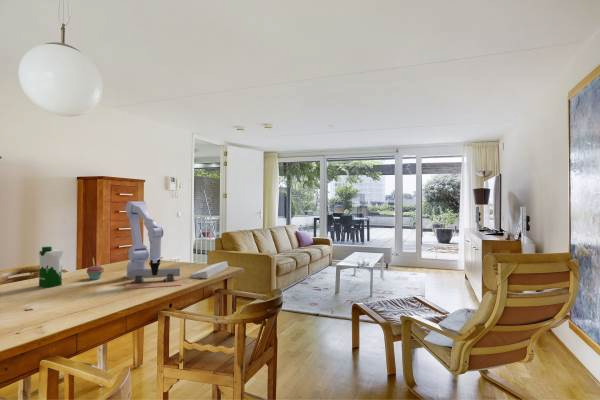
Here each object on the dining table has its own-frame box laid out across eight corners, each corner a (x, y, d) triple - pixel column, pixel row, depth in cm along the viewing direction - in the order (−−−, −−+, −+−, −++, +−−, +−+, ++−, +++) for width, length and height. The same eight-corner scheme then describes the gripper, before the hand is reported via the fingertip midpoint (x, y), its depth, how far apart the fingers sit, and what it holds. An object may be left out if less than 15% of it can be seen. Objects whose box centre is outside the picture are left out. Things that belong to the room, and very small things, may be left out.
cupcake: (82, 279, 194) (83, 257, 194) (96, 276, 202) (97, 255, 202) (93, 280, 191) (93, 259, 191) (107, 277, 199) (107, 256, 199)
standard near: (133, 284, 185) (133, 275, 185) (135, 280, 195) (135, 271, 195) (142, 284, 186) (142, 274, 186) (143, 279, 197) (143, 270, 197)
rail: (128, 279, 187) (128, 271, 187) (128, 277, 190) (129, 270, 190) (179, 276, 196) (179, 269, 196) (179, 274, 200) (179, 267, 200)
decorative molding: (192, 283, 204) (208, 279, 202) (190, 274, 204) (206, 271, 203) (214, 271, 237) (228, 267, 236) (213, 264, 238) (226, 261, 236)
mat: (124, 289, 175) (124, 288, 175) (126, 285, 184) (126, 284, 184) (181, 285, 185) (181, 284, 185) (180, 281, 194) (180, 281, 194)
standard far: (165, 282, 191) (166, 273, 191) (165, 278, 201) (165, 269, 201) (174, 282, 192) (174, 273, 192) (173, 277, 202) (174, 269, 202)
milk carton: (35, 286, 177) (36, 246, 177) (54, 282, 185) (55, 245, 185) (46, 288, 173) (47, 248, 173) (64, 284, 182) (65, 246, 182)
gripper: (163, 251, 188) (162, 276, 188) (163, 247, 202) (162, 271, 201) (148, 251, 185) (148, 277, 185) (149, 247, 199) (149, 271, 199)
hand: (154, 273), depth 193 cm, fingers open, 7 cm apart
